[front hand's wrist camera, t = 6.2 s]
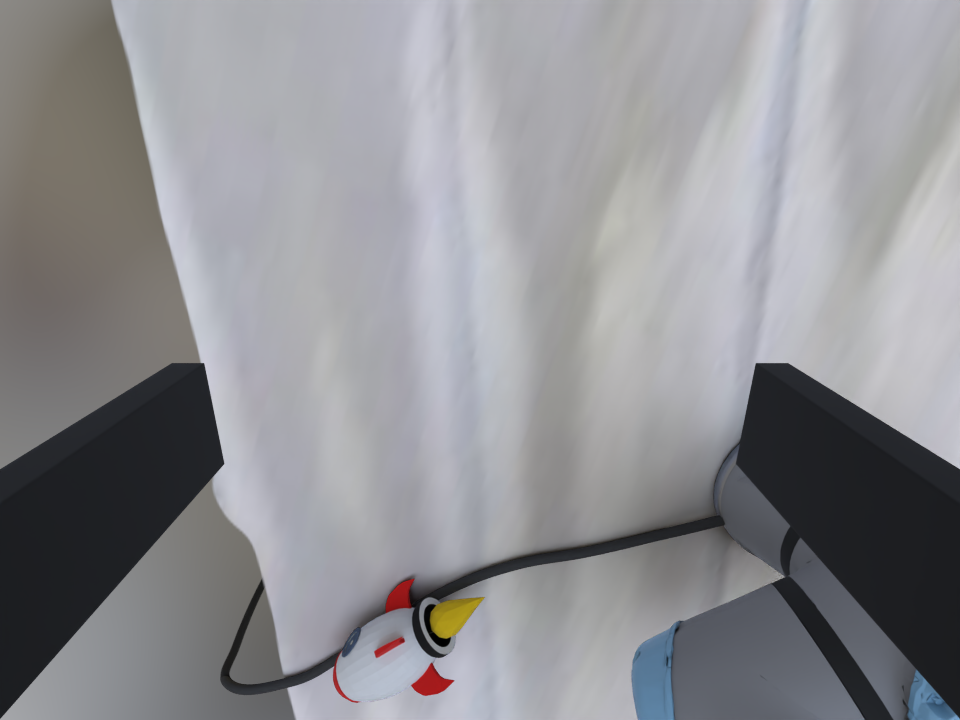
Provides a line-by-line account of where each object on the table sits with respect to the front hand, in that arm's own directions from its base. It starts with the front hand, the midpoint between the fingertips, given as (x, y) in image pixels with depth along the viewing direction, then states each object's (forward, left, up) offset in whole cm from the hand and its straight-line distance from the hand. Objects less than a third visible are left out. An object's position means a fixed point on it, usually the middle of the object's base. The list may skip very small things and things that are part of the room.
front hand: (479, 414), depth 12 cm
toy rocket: (-13, -38, -31) cm, 51 cm away
